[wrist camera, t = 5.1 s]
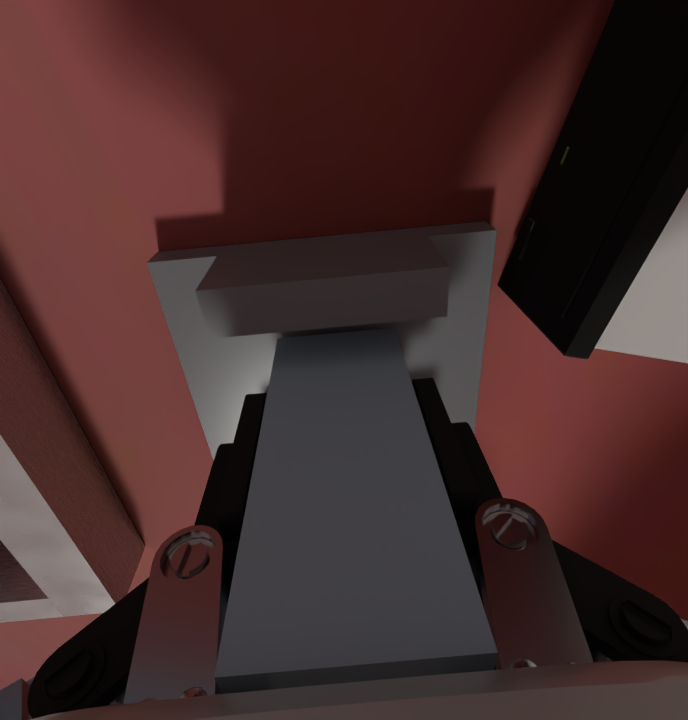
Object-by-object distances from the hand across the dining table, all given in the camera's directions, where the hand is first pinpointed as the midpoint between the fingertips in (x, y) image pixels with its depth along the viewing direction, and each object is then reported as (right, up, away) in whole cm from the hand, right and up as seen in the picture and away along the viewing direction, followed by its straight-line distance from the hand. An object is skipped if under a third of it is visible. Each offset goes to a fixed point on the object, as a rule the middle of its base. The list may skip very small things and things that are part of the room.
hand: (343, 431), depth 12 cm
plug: (0, +1, +2) cm, 2 cm away
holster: (0, +2, +3) cm, 4 cm away
